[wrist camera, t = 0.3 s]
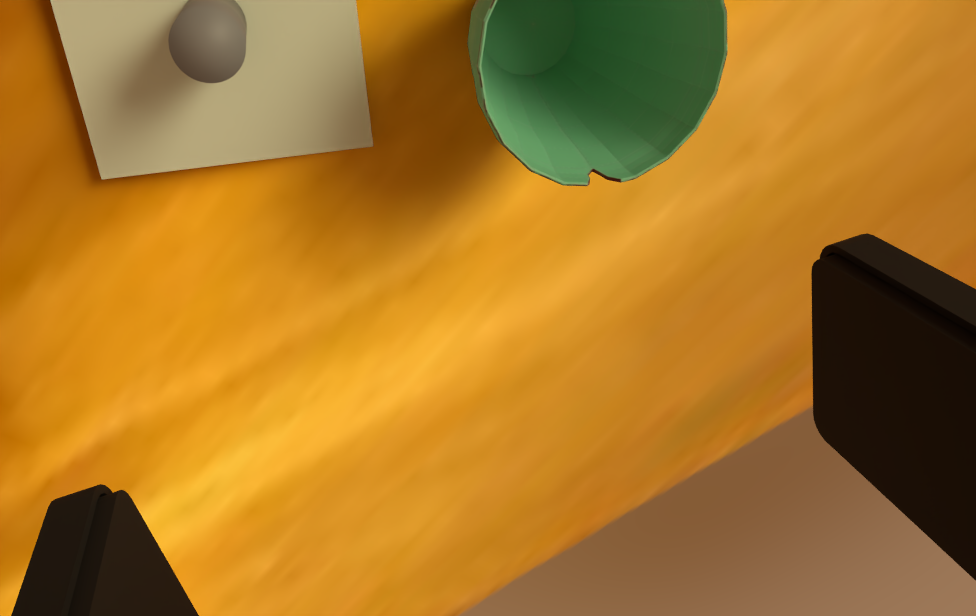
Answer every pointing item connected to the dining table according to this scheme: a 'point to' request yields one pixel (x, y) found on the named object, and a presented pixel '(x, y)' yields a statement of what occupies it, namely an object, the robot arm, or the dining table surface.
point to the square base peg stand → (214, 80)
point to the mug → (596, 80)
